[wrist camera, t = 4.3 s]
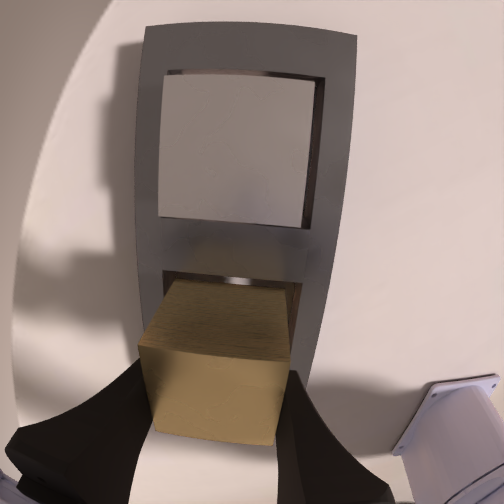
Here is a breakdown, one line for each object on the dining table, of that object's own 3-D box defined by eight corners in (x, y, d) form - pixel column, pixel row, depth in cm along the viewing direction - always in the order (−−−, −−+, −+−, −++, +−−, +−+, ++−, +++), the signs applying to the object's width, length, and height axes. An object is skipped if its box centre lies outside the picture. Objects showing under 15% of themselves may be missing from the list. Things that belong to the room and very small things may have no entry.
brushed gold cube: (284, 288, 14) (290, 362, 9) (273, 369, 16) (272, 445, 11) (175, 278, 14) (137, 344, 10) (180, 359, 16) (155, 430, 11)
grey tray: (297, 384, 19) (299, 411, 17) (163, 370, 20) (154, 395, 17) (344, 49, 12) (357, 35, 10) (162, 40, 13) (145, 26, 10)
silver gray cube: (290, 199, 15) (300, 227, 11) (190, 191, 16) (158, 216, 11) (299, 99, 14) (314, 81, 9) (196, 93, 14) (164, 75, 9)
